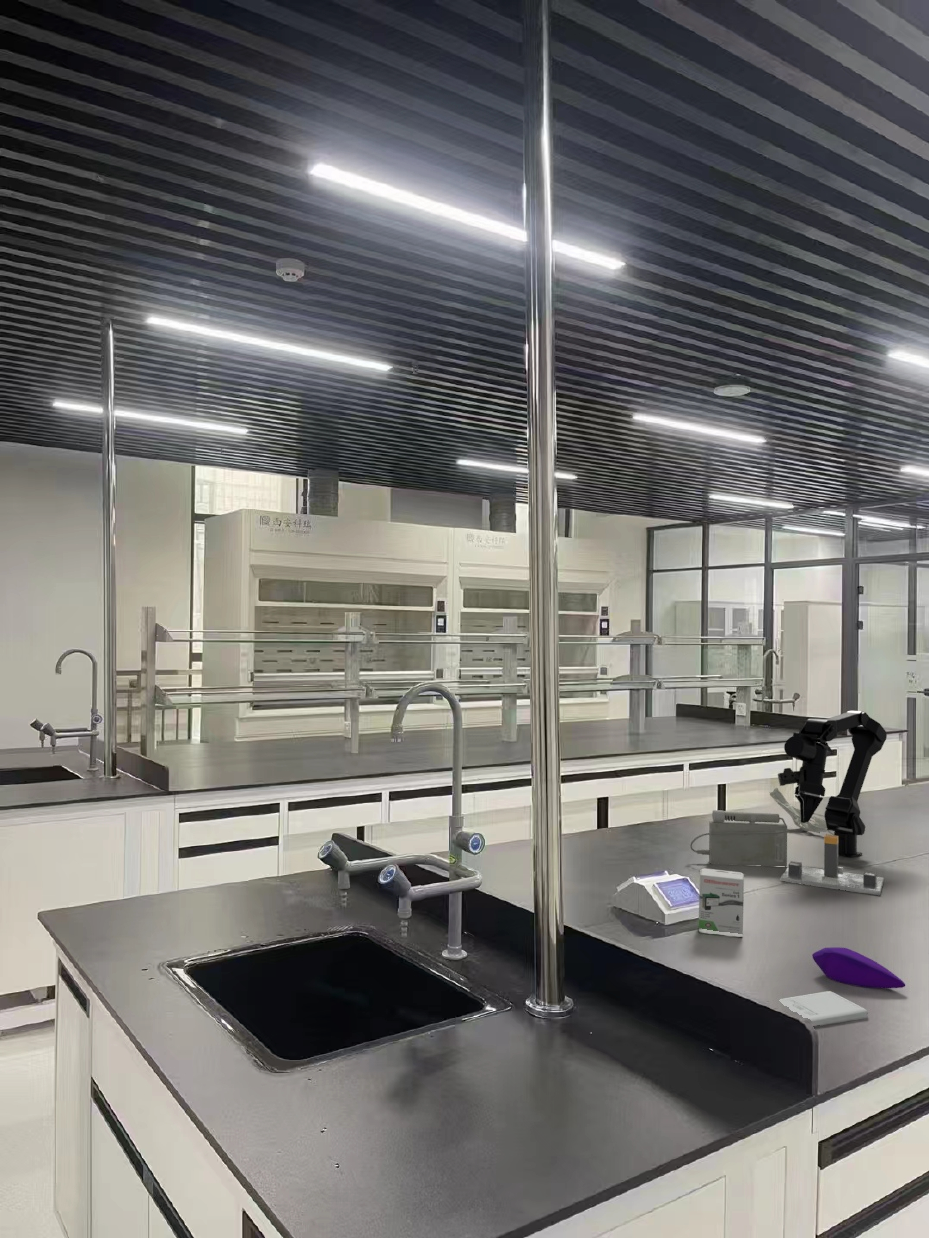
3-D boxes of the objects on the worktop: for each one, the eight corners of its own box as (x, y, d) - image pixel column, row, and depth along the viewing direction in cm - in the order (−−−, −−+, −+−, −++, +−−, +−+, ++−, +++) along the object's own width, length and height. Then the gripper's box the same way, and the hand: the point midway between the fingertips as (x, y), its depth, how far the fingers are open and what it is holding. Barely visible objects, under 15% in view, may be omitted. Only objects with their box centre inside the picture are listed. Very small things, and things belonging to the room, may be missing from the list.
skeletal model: (843, 840, 257) (780, 777, 268) (821, 860, 261) (760, 797, 272) (854, 831, 270) (794, 771, 281) (833, 849, 274) (774, 789, 285)
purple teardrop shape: (904, 975, 140) (809, 944, 149) (900, 1004, 140) (806, 972, 149) (909, 966, 144) (817, 937, 153) (906, 995, 144) (814, 964, 153)
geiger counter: (784, 811, 228) (688, 807, 231) (790, 815, 222) (692, 811, 225) (783, 863, 228) (688, 859, 230) (790, 869, 221) (692, 865, 224)
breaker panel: (789, 868, 222) (789, 854, 222) (883, 881, 212) (883, 866, 212) (780, 881, 210) (780, 866, 210) (879, 895, 199) (880, 879, 199)
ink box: (697, 933, 170) (698, 873, 171) (698, 925, 175) (699, 867, 175) (743, 938, 168) (744, 877, 168) (743, 930, 172) (743, 871, 173)
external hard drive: (867, 1020, 133) (803, 1031, 128) (828, 999, 140) (766, 1009, 136) (867, 1009, 133) (803, 1020, 128) (828, 989, 140) (766, 998, 136)
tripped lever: (825, 875, 211) (826, 834, 211) (838, 877, 209) (838, 835, 210) (824, 878, 208) (824, 836, 208) (836, 880, 207) (836, 838, 207)
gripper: (780, 761, 243) (771, 816, 240) (784, 755, 226) (774, 814, 223) (822, 770, 239) (813, 825, 236) (829, 764, 222) (820, 824, 219)
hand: (804, 822), depth 229 cm, fingers open, 9 cm apart
